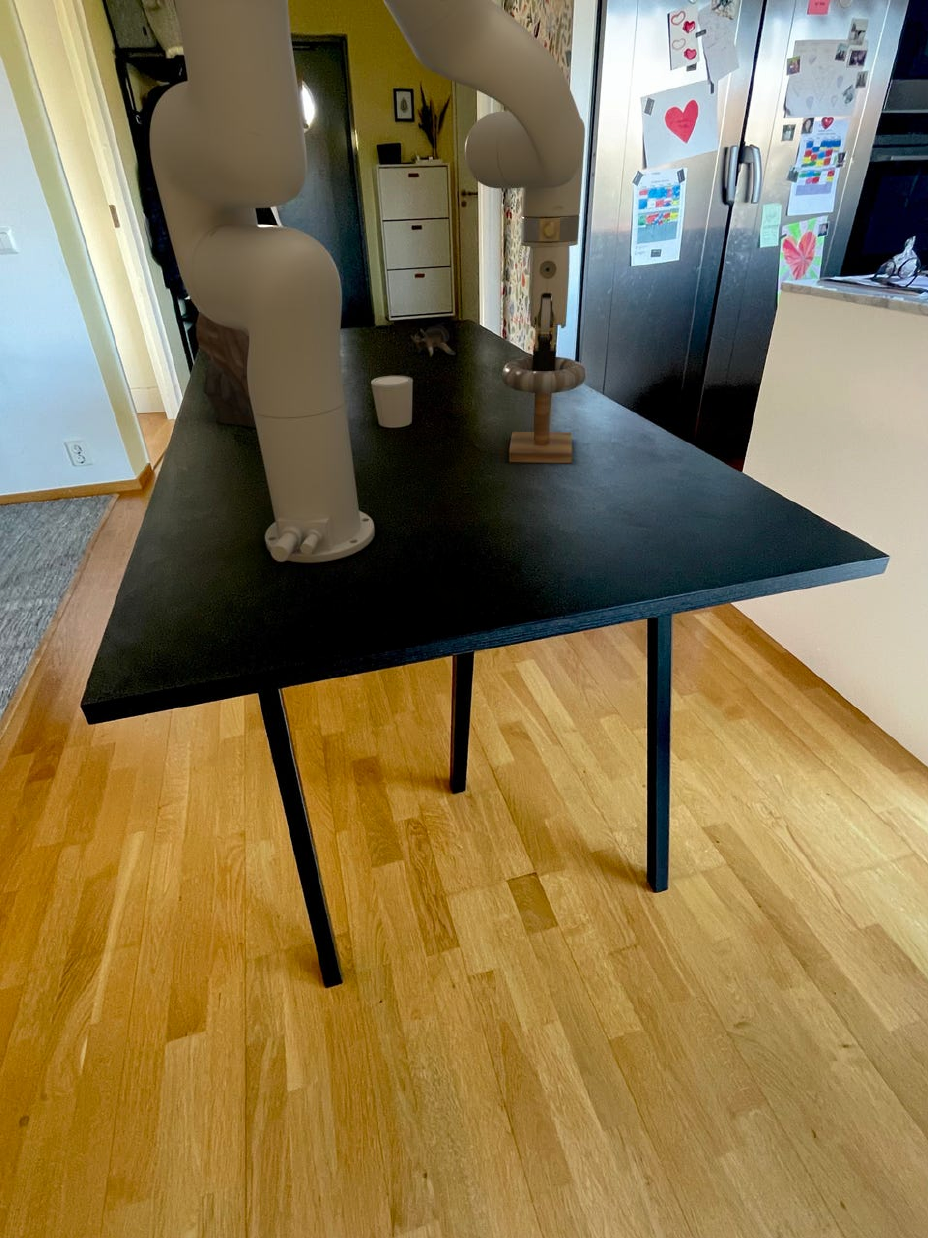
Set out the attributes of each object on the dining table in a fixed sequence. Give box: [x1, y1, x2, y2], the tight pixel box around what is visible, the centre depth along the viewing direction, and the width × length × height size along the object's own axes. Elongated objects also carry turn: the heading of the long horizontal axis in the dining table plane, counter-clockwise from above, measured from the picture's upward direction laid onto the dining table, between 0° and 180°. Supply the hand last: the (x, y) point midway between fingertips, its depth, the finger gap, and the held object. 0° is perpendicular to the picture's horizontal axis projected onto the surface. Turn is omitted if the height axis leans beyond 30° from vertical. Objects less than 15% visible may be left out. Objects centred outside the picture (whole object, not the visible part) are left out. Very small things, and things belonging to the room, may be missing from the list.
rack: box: [508, 393, 573, 464], centre depth 97 cm, size 9×9×10 cm
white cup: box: [370, 375, 414, 429], centre depth 111 cm, size 7×7×7 cm
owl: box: [195, 311, 257, 429], centre depth 113 cm, size 13×13×20 cm
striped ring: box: [501, 356, 586, 394], centre depth 93 cm, size 12×12×3 cm
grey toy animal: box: [410, 324, 456, 357], centre depth 153 cm, size 8×7×9 cm
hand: (543, 374), depth 97 cm, fingers closed on striped ring, 3 cm apart
